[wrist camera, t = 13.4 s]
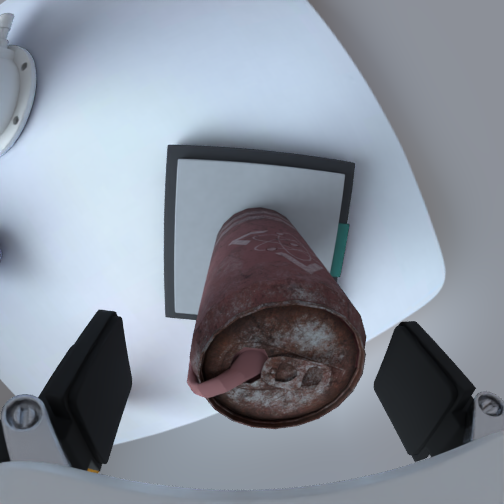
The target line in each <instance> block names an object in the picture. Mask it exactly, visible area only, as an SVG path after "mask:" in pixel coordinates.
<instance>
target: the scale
mask: <svg viewBox="0 0 504 504" xmlns="http://www.w3.org/2000/svg"><path fill="white" fill-rule="evenodd" d="M354 169H355V163H353V162H347V161H341V160H335V159H329V158H322V157H315V156H308V155H300V154H292V153H284V152H274V151H265V150H254V149H242V148H229V147H213V146H191V145H168V148H167V163H166V181H165V207H164V290H165V315H166V317H170V318H180V319H191V320H197V315H198V311H199V307H200V302H201V298H202V294H203V290H204V286H205V281H206V277H207V273H208V269H209V265H210V261H211V257H212V253H213V249H214V245H215V241H216V237H217V234H218V232H219V231H220V229H221V227H222V225H223V224H224V223H225V222H226V221H227V220H228V219H229V218H230V217H231V216H233V215H234V214H235V213H238V212H240V211H242V210H245V209H247V208H257V207H263V208H267V209H271V210H275V211H277V212H278V213H280V214H282V215H283V216H285V217H286V218H287V219H288V220H289V221H290V222H291V223H292V225H293V226H294V227H295V228H296V230H297V231H298V232H299V233H300V235H301V236H302V237H303V239H304V240H305V241H306V242H307V244H308V245H309V246H310V248H311V249H312V250H313V252H314V253H315V254H316V256H317V257H318V258H319V260H320V261H321V262H322V263H323V265H324V266H325V267H326V269H327V270H328V272H329V273H330V274H331V276H332V277H333V278H334V280H335V281H336V282H337V277H340V274H341V269H342V264H343V259H344V253H345V248H346V242H347V236H348V231H349V224H347V220H348V214H349V207H350V200H351V193H352V185H353V178H354Z"/></svg>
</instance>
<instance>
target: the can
mask: <svg viewBox="0 0 504 504" xmlns="http://www.w3.org/2000/svg"><path fill="white" fill-rule="evenodd" d="M365 342H366V334H365V330H364V326H363V323H362V319H361V315H360V314H359V313H358V311H357V310H356V308H355V307H354V306H353V304H352V303H351V301H350V300H349V299H348V297H347V296H346V295H345V293H344V292H343V290H342V289H341V288H340V286H339V285H338V284H337V282H336V281H335V280H334V278H333V277H332V276H331V274H330V273H329V272H328V270H327V269H326V267H325V266H324V265H323V263H322V262H321V261H320V260H319V258H318V257H317V256H316V254H315V253H314V252H313V250H312V249H311V248H310V246H309V245H308V244H307V242H306V241H305V240H304V239H303V237H302V236H301V235H300V233H299V232H298V231H297V230H296V228H295V227H294V226H293V225H292V223H291V222H290V221H289V220H288V219H287V218H286V217H285V216H283V215H282V214H280V213H278V212H277V211H275V210H271V209H267V208H263V207H257V208H247V209H245V210H242V211H240V212H238V213H235V214H234V215H233V216H231V217H230V218H229V219H228V220H227V221H226V222H225V223H224V224H223V225H222V227H221V229H220V231H219V232H218V234H217V237H216V241H215V245H214V249H213V253H212V257H211V261H210V265H209V269H208V273H207V277H206V281H205V286H204V290H203V294H202V298H201V302H200V307H199V311H198V315H197V320H196V324H195V329H194V333H193V339H192V345H191V352H190V363H189V370H188V378H187V383H188V385H189V387H190V388H191V390H192V391H193V392H194V393H195V394H197V395H199V396H202V397H204V398H206V399H207V400H208V402H209V403H210V404H211V406H212V407H213V408H214V409H215V410H216V411H218V412H219V413H221V414H222V415H224V416H225V417H227V418H228V419H230V420H232V421H235V422H238V423H241V424H244V425H247V426H251V427H257V428H269V429H278V428H286V427H293V426H299V425H302V424H305V423H307V422H310V421H313V420H316V419H319V418H320V417H322V416H324V415H325V414H327V413H329V412H330V411H332V410H333V409H335V408H337V407H338V406H339V405H340V404H341V403H342V402H343V401H344V400H345V399H346V398H347V397H348V396H349V395H350V394H351V393H352V392H353V391H354V389H355V387H356V385H357V383H358V381H359V380H360V378H361V376H362V374H363V369H364V362H365V356H366V354H365V350H364V349H365Z"/></svg>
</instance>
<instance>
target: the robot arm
mask: <svg viewBox="0 0 504 504" xmlns="http://www.w3.org/2000/svg"><path fill="white" fill-rule="evenodd" d="M13 19H14V14H12V13H4V14H2V15H0V156H1V155H3V154H4V153H6V152H7V151H8V150H9V149H10V147H11V146H12V145H13V144H14V143H15V141H16V140H17V138H18V137H19V135H20V133H21V132H22V130H23V128H24V126H25V124H26V121H27V119H28V117H29V114H30V111H31V108H32V104H33V100H34V95H35V90H36V68H35V63H34V60H33V58H32V56H31V54H30V53H29V52H28V51H27V50H26V49H24V48H22V47H19V46H15V45H8V44H9V41H8V40H7V36H8V32H9V31H10V28H11V25H12V22H13ZM131 387H132V376H131V371H130V365H129V360H128V354H127V348H126V342H125V335H124V329H123V321H122V318H121V317H119V316H117V313H116V312H114V311H106V310H98V311H97V312H96V314H95V315H94V317H93V318H92V319H91V321H90V322H89V324H88V325H87V326H86V328H85V329H84V331H83V332H82V334H81V335H80V336H79V338H78V339H77V341H76V342H75V344H74V345H72V346H71V348H70V349H69V350H68V352H67V353H66V355H65V356H64V358H63V359H62V361H61V362H60V364H59V365H58V367H57V368H56V370H55V371H54V373H53V375H52V376H51V378H50V379H49V381H48V382H47V384H46V386H45V387H44V389H43V391H42V392H41V394H40V395H39V397H36V396H33V395H28V394H22V395H17V396H15V397H12V398H11V399H9V400H8V401H7V402H6V403H5V405H4V406H3V408H2V411H1V420H0V504H504V401H503V400H502V399H501V398H500V397H499V396H497V395H496V394H494V393H491V392H487V391H484V392H480V393H478V394H477V395H476V396H475V398H474V399H473V397H472V396H471V395H472V394H473V392H474V390H475V389H476V388H475V387H474V385H473V384H472V383H471V382H470V381H469V379H468V378H467V377H466V376H465V375H464V374H463V372H462V371H461V370H460V369H459V368H458V367H457V366H456V365H455V363H454V362H453V361H452V360H451V359H450V358H449V357H448V356H447V354H445V352H444V351H443V350H442V349H441V348H440V347H439V346H438V345H437V343H436V342H435V341H434V340H433V339H432V338H431V337H430V336H429V335H428V334H427V333H426V332H425V331H424V330H423V328H422V327H421V326H420V325H419V324H418V323H417V322H415V321H411V322H410V321H409V322H401V323H400V324H399V325H398V326H397V327H396V328H395V329H394V332H393V335H392V338H391V340H390V343H389V346H388V349H387V351H386V354H385V356H384V359H383V362H382V364H381V367H380V369H379V372H378V374H377V377H376V379H375V381H374V390H375V392H376V394H377V396H378V398H379V400H380V402H381V403H382V405H383V407H384V409H385V411H386V413H387V415H388V416H389V418H390V420H391V422H392V424H393V426H394V428H395V430H396V431H397V434H398V435H399V437H400V439H401V441H402V443H403V445H404V447H405V449H406V451H407V453H408V454H409V455H412V457H413V459H414V461H415V462H416V461H419V462H416V463H413V464H410V465H407V466H403V467H400V468H396V469H392V470H389V471H385V472H381V473H377V474H373V475H369V476H364V477H360V478H355V479H350V480H344V481H339V482H333V483H327V484H320V485H312V486H304V487H294V488H282V489H265V490H212V489H196V488H184V487H174V486H166V485H158V484H151V483H144V482H138V481H132V480H127V479H122V478H117V477H112V476H108V475H103V474H99V473H94V472H89V471H87V470H88V468H89V469H92V470H96V471H100V469H101V466H102V463H103V464H106V463H107V462H108V459H109V456H110V453H111V449H112V446H113V443H114V439H115V436H116V433H117V430H118V427H119V423H120V420H121V417H122V414H123V411H124V408H125V405H126V402H127V399H128V396H129V393H130V390H131ZM428 455H431V458H428V459H425V458H427V457H428ZM423 459H425V460H423ZM420 460H422V461H420Z"/></svg>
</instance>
